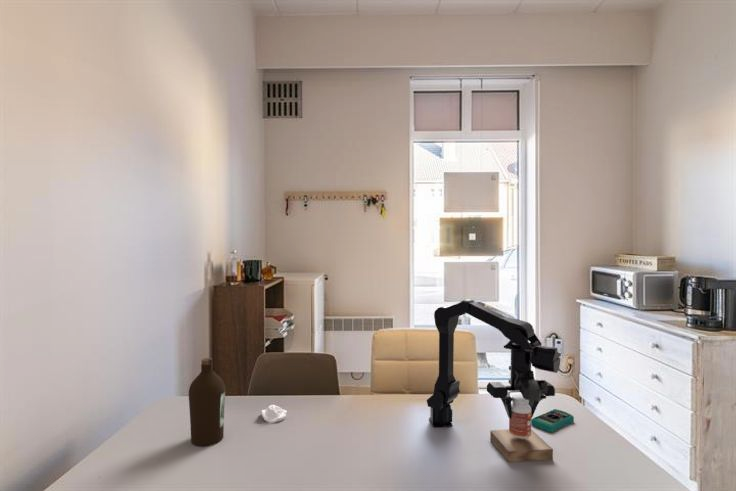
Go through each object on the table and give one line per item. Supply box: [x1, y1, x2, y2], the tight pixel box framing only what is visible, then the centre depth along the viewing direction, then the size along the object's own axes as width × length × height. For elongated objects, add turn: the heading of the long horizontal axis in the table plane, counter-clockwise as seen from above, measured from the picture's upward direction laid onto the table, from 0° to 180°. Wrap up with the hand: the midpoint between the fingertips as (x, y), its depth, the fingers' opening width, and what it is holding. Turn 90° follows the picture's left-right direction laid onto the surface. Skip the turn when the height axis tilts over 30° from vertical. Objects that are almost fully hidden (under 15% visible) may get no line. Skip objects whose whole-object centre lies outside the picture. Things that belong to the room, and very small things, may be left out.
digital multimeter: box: [531, 408, 575, 433], centre depth 144 cm, size 7×15×3 cm, turn 126°
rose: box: [260, 404, 288, 424], centre depth 149 cm, size 10×4×10 cm
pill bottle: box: [508, 394, 532, 439], centre depth 126 cm, size 6×6×11 cm
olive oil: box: [188, 357, 226, 447], centre depth 132 cm, size 11×11×25 cm
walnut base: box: [489, 428, 554, 463], centre depth 126 cm, size 13×13×3 cm
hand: (520, 417), depth 126 cm, fingers closed on pill bottle, 6 cm apart
